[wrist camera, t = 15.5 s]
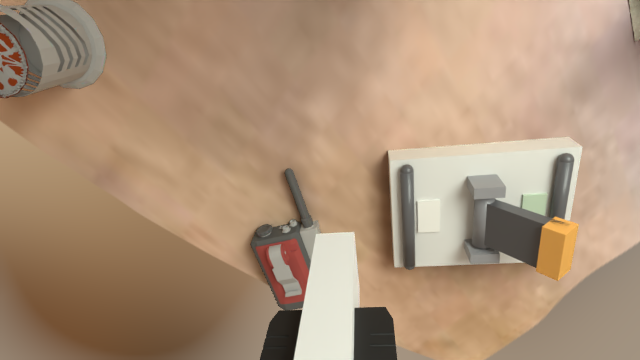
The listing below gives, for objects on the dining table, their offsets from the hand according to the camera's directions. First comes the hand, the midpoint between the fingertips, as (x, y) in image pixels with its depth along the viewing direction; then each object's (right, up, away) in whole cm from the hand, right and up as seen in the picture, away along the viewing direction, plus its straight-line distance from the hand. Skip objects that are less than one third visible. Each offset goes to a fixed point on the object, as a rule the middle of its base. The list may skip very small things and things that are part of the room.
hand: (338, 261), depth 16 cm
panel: (+17, +1, +31) cm, 35 cm away
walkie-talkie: (-5, -4, +36) cm, 36 cm away
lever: (+16, -1, +27) cm, 32 cm away
